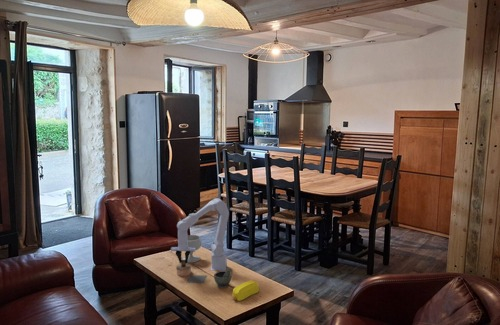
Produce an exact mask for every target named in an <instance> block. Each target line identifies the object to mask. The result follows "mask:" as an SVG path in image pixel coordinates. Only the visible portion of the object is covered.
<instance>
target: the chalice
mask: <svg viewBox="0 0 500 325" xmlns="http://www.w3.org/2000/svg"><path fill="white" fill-rule="evenodd" d="M188 247H192V248H195V252H196V251H198V250H199V249H200V248H201V247H202V240H201V238H200V236H199V235H194V234H188ZM182 260H185V256H184V257H182ZM199 261H201V256H198V255H194V252H190V254H189V257H188V262H187V263H188V264H191V263H197V262H199Z"/></svg>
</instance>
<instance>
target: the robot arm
mask: <svg viewBox="0 0 500 325" xmlns="http://www.w3.org/2000/svg"><path fill="white" fill-rule="evenodd" d="M216 210H217V212H218V213H219V214H220V215H219V219H218V224H217V229H216V232H215V237H214V239H213V241H212V243H211V245H210V250H211V254H210V257H211V267H210V271H218V272H220V271H227V268H228V260H227V259H228V257H227V256H228V255H227V254H224V252H225V249H224V247H225V246H224V245H225V244H224V238H225V233H226V230H227V224H228V221H229V216H230V212H229V208H228V204H226V203H225V202H224V200H222V199H221V198H219V197H214V198H213V199H212V200H210V201H209V202H208V203H206V204H205V205H204V206H202V208H201V209H199V210H198V211H197V212H195V213H194V212H192V213H189V214H188V216H187V217H185V218H183V219H182V220H180V221H178V222H177V224H176V228H177V246H171V247H170V252H175V255H176V257H177V258H178V263H179V264H181V260H182V259H183V257H182V252H184V257H185V263H187V262H188V257H189V256H190V252H193V253H195V252H196V251H195V248H192V247H188V235H189V233H188V230H189V228H190V227H192V226H193V225H194V224H195V223H198V221H199V218H201V217H202V216H204V215H205V214H207V213H208V212H210V211H211V212H213V211H214V212H215V211H216Z"/></svg>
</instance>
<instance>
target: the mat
mask: <svg viewBox="0 0 500 325" xmlns="http://www.w3.org/2000/svg"><path fill="white" fill-rule="evenodd" d="M189 275H190V276H189V277H188V279H187V281H186V284H187V283H189V284H190V283H191V284H204V283H205V281H206V279H207V277H208V275H204V274H203V275H197V274H189Z"/></svg>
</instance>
